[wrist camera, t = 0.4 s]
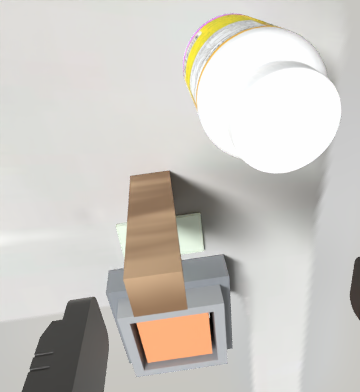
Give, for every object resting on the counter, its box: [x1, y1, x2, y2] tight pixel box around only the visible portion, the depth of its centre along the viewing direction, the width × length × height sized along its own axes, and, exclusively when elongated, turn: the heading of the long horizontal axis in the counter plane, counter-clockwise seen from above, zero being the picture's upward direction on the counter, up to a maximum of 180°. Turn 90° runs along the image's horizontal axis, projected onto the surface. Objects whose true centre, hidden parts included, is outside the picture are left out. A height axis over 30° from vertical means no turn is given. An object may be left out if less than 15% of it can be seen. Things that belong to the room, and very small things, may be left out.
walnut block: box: [123, 171, 188, 317], centre depth 25 cm, size 3×3×12 cm
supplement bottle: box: [183, 13, 341, 173], centre depth 20 cm, size 7×7×13 cm
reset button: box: [137, 313, 212, 363], centre depth 36 cm, size 7×7×3 cm
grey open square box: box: [106, 255, 232, 377], centre depth 36 cm, size 12×12×5 cm
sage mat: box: [116, 213, 204, 259], centre depth 33 cm, size 5×8×1 cm, turn 96°
